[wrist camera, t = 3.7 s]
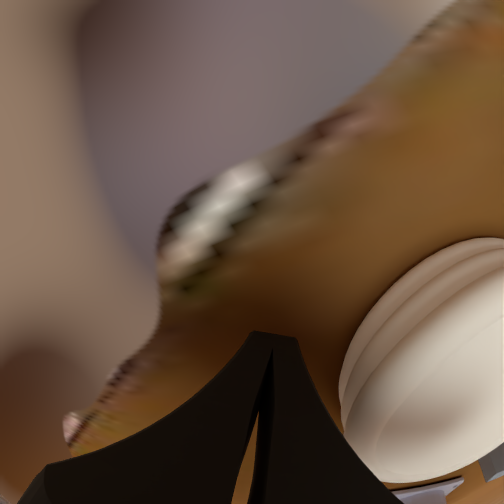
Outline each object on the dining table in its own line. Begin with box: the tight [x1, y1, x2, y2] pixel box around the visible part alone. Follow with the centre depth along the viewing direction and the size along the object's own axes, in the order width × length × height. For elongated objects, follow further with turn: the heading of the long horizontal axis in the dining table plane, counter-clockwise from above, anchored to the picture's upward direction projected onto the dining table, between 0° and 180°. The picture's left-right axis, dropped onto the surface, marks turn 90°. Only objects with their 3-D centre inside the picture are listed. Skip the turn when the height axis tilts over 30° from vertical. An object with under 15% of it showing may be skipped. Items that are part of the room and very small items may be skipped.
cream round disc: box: [338, 238, 504, 483], centre depth 7 cm, size 10×10×4 cm
